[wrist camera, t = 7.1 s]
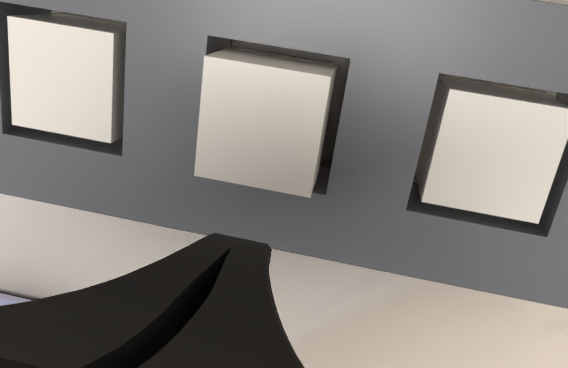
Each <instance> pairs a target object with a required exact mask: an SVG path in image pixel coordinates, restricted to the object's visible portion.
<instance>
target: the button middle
mask: <svg viewBox="0 0 568 368" xmlns="http://www.w3.org/2000/svg"><path fill="white" fill-rule="evenodd" d="M337 68H338V64H335V63H329V62H323V61H317V60H311V59H304V58H298V57H292V56H286V55H280V54H274V53H268V52H262V51H256V50H250V49H244V48H237V47H228V48H225V49H223V50H220V51H217V52H214V53H211V54H208V55H205V56H204V64H203V76H202V87H201V99H200V111H199V123H198V135H197V147H196V158H195V170H194V176H198V177H204V178H209V179H214V180H219V181H225V182H230V183H235V184H240V185H245V186H251V187H256V188H261V189H266V190H272V191H277V192H282V193H287V194H292V195H298V196H303V197H308V198H311V195H312V192H313V188H314V185H315V182H316V179H317V176H318V173H319V170H320V166H321V160H322V154H323V149H324V143H325V137H326V131H327V126H328V120H329V114H330V108H331V103H332V97H333V91H334V85H335V80H336V74H337Z"/></svg>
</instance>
